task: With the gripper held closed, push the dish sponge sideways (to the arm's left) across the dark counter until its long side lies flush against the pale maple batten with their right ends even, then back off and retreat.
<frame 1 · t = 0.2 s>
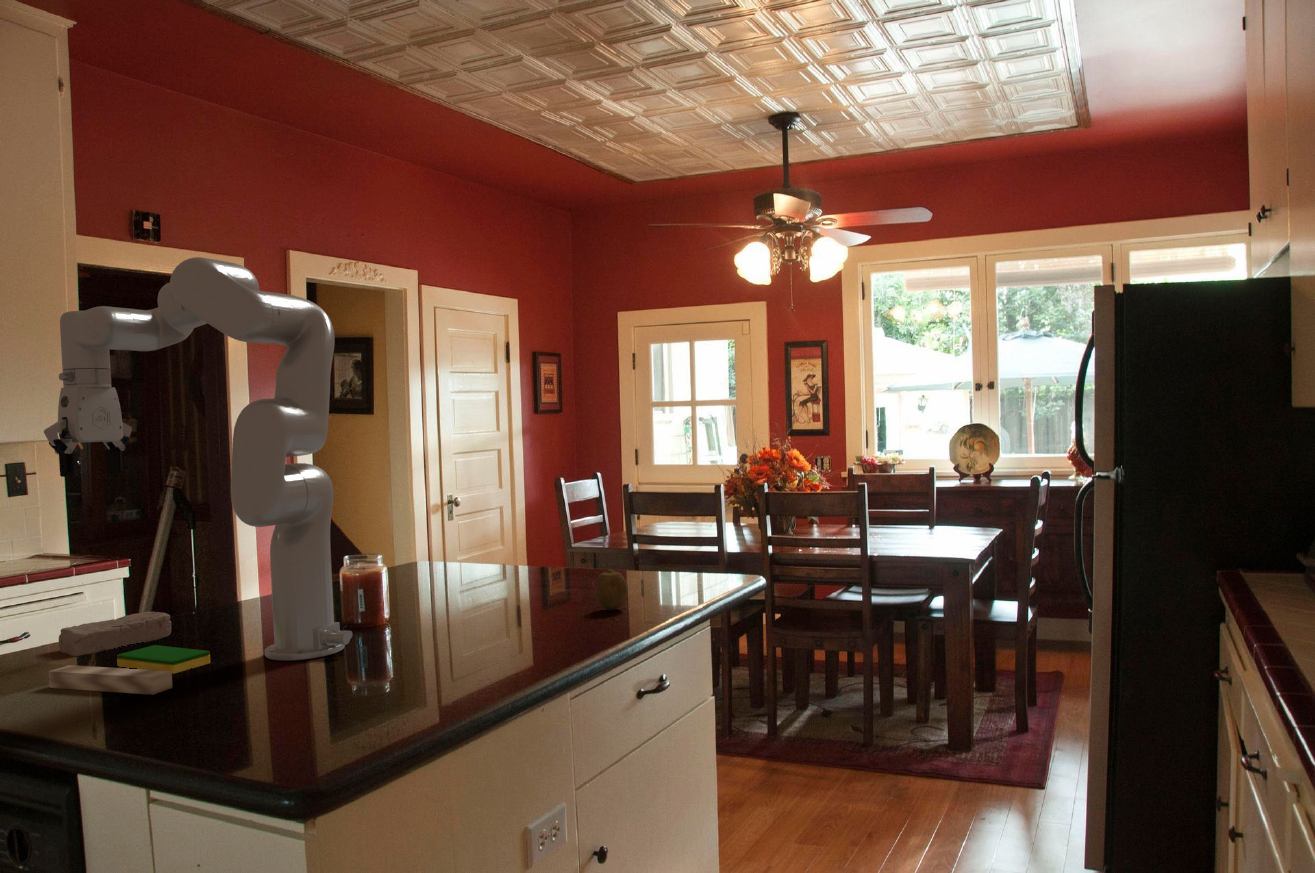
hand: (92, 474, 176), 31 cm above the countertop, fingers open, 9 cm apart
batten: (110, 687, 145), on the countertop
fruit: (611, 611, 187), on the countertop
dish sponge: (164, 668, 158), on the countertop
brick: (116, 646, 176), on the countertop
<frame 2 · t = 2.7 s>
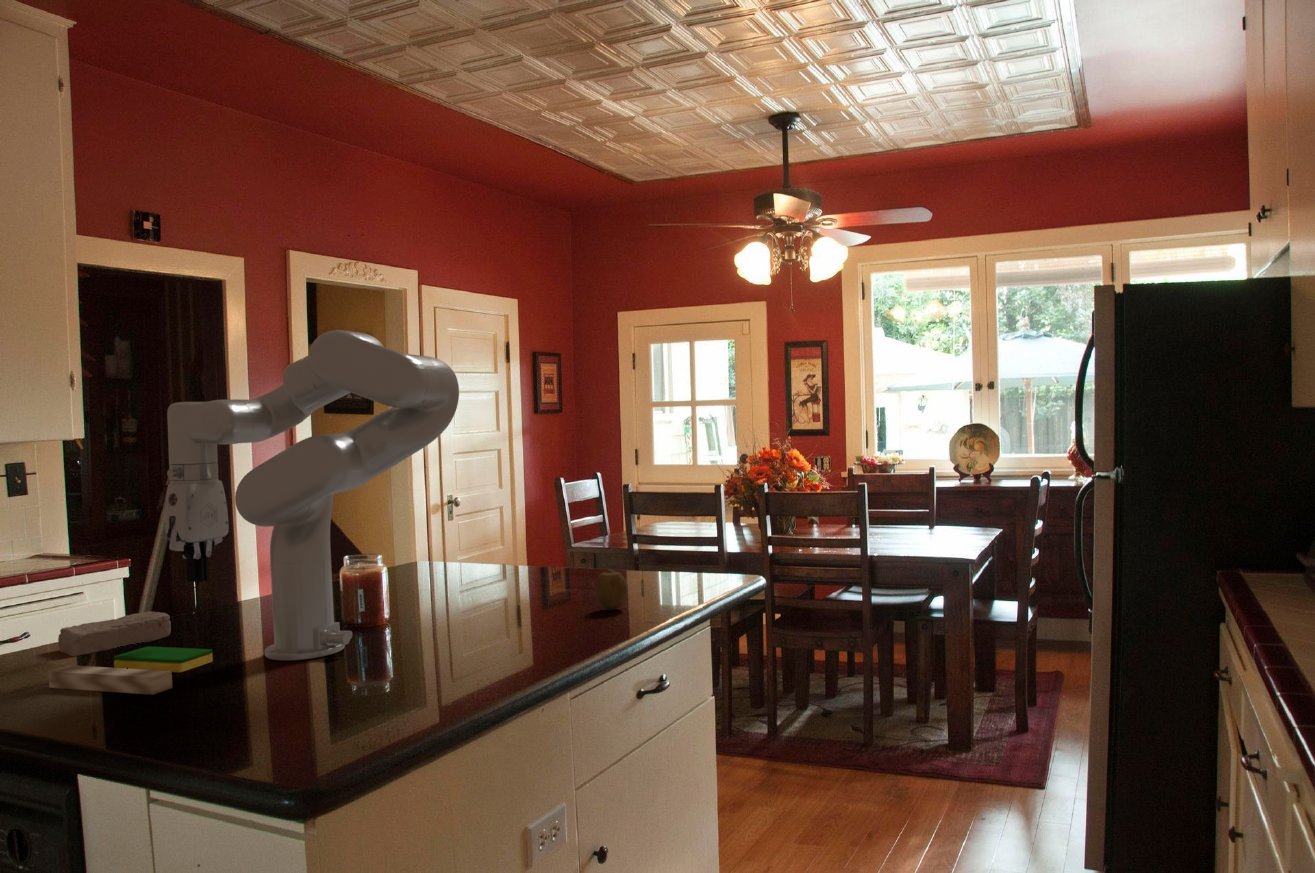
hand: (198, 580, 166), 12 cm above the countertop, fingers closed
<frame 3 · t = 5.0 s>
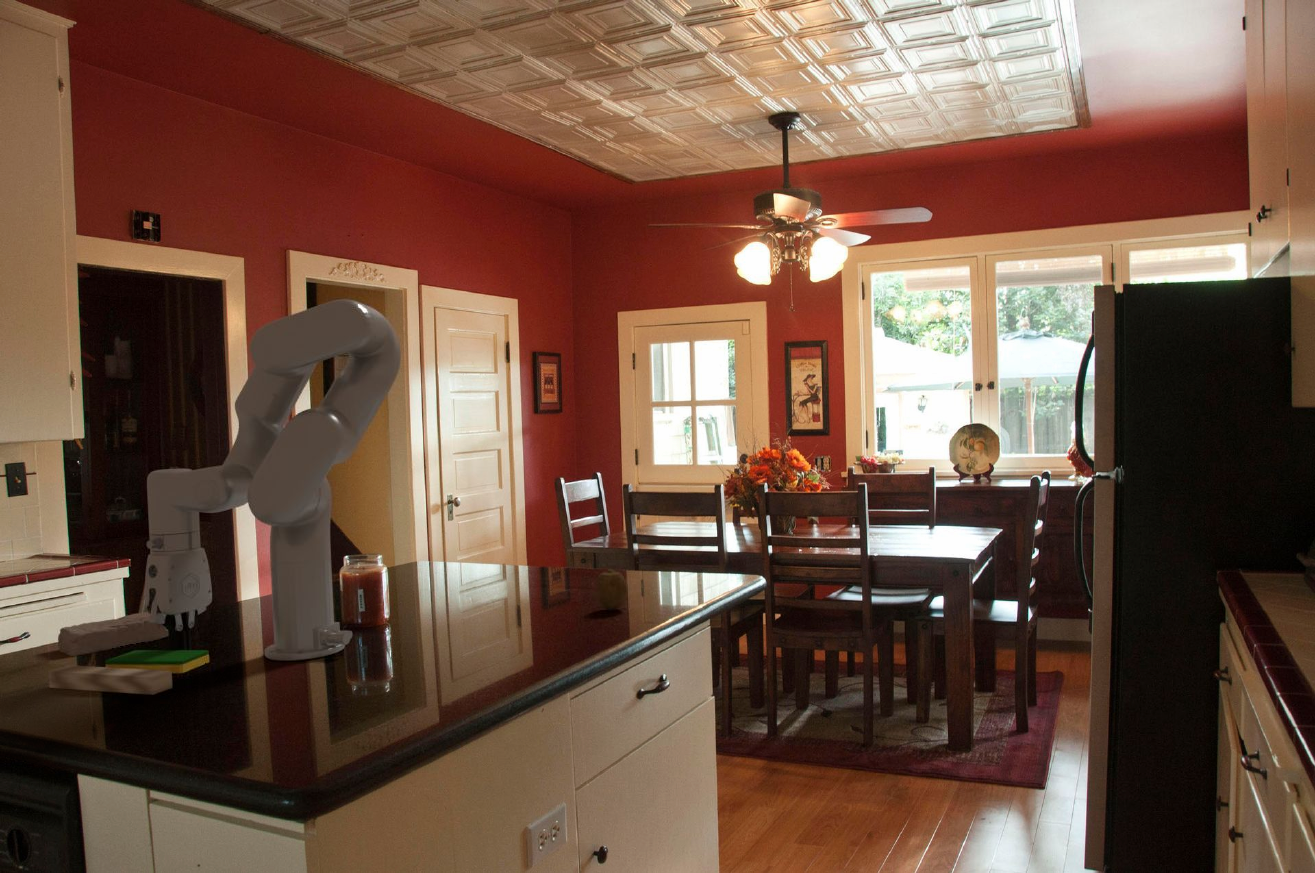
hand: (180, 652, 162), 1 cm above the countertop, fingers closed
dish sponge: (158, 671, 157), on the countertop, touching gripper
everything else where it was.
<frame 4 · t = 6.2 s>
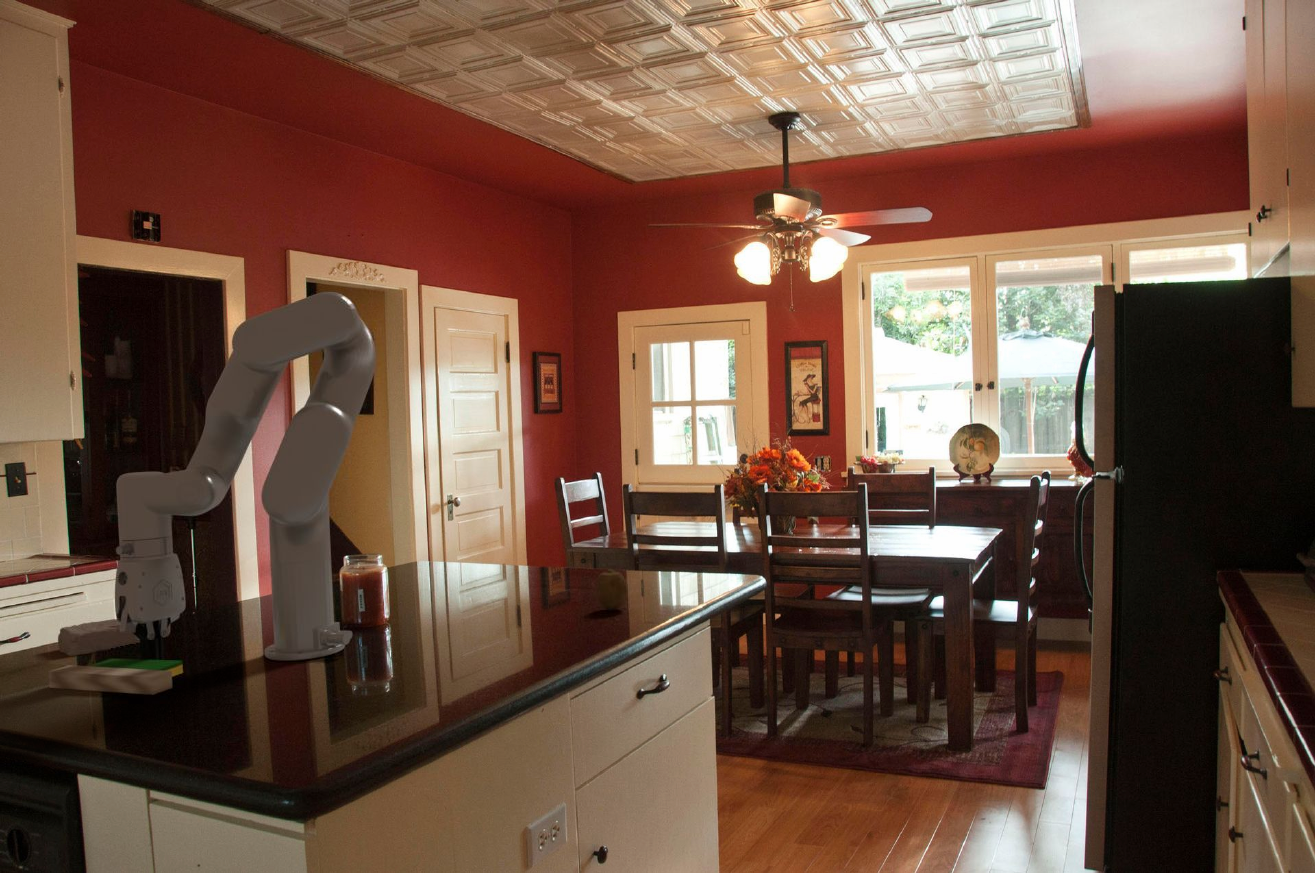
hand: (152, 662, 156), 1 cm above the countertop, fingers closed
dish sponge: (130, 681, 151), on the countertop, touching gripper
everything else where it was.
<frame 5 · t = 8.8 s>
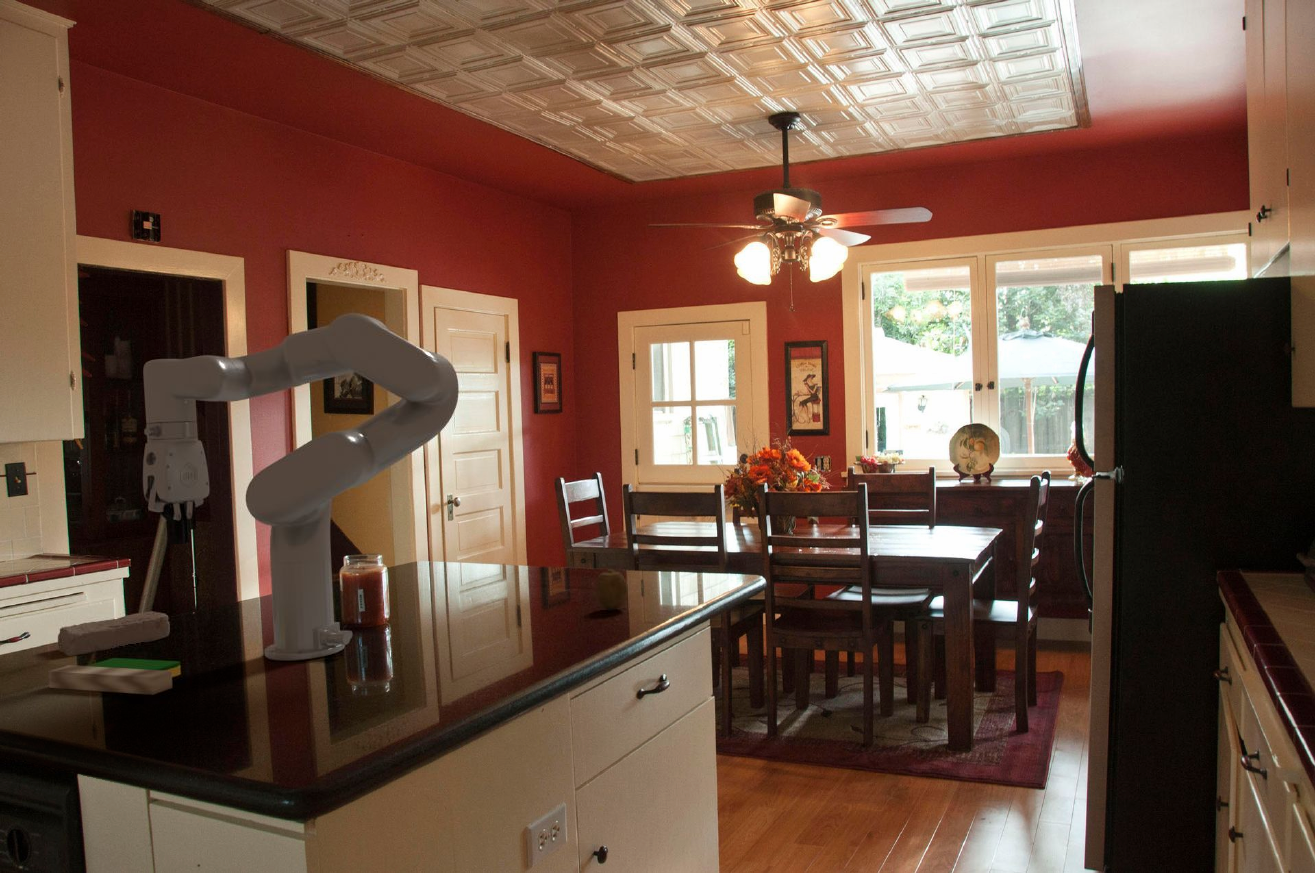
hand: (178, 543, 162), 19 cm above the countertop, fingers closed
dish sponge: (129, 681, 151), on the countertop
everything else where it was.
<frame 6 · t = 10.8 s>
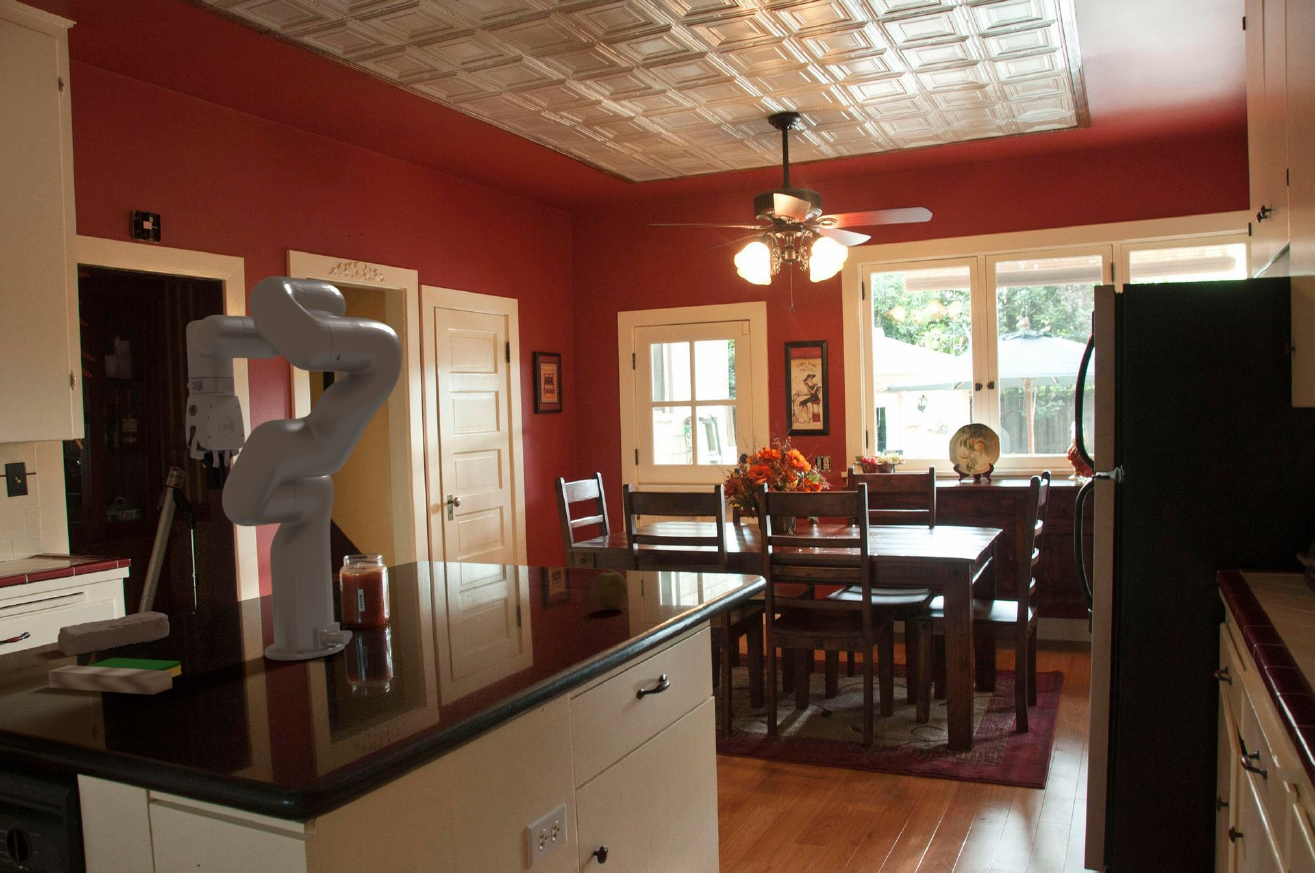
hand: (217, 488, 177), 27 cm above the countertop, fingers closed
nothing on the countertop moved.
at the end: dish sponge inside the target area on the countertop beside the batten (1.1 cm from its centre), on the countertop; dish sponge tilted 0°; dish sponge moved 7.6 cm from its start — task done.
